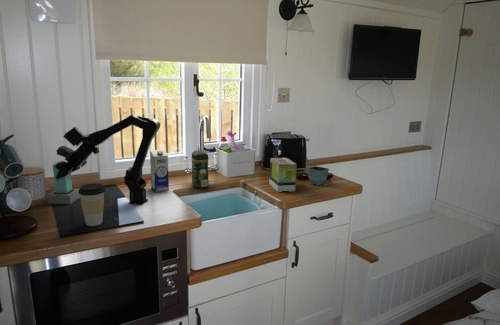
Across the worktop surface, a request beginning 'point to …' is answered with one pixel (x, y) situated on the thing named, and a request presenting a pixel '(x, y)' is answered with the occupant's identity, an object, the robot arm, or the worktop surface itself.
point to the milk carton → (159, 170)
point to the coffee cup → (92, 203)
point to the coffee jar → (199, 169)
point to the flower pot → (317, 175)
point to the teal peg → (62, 182)
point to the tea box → (282, 174)
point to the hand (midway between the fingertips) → (59, 176)
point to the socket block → (63, 197)
